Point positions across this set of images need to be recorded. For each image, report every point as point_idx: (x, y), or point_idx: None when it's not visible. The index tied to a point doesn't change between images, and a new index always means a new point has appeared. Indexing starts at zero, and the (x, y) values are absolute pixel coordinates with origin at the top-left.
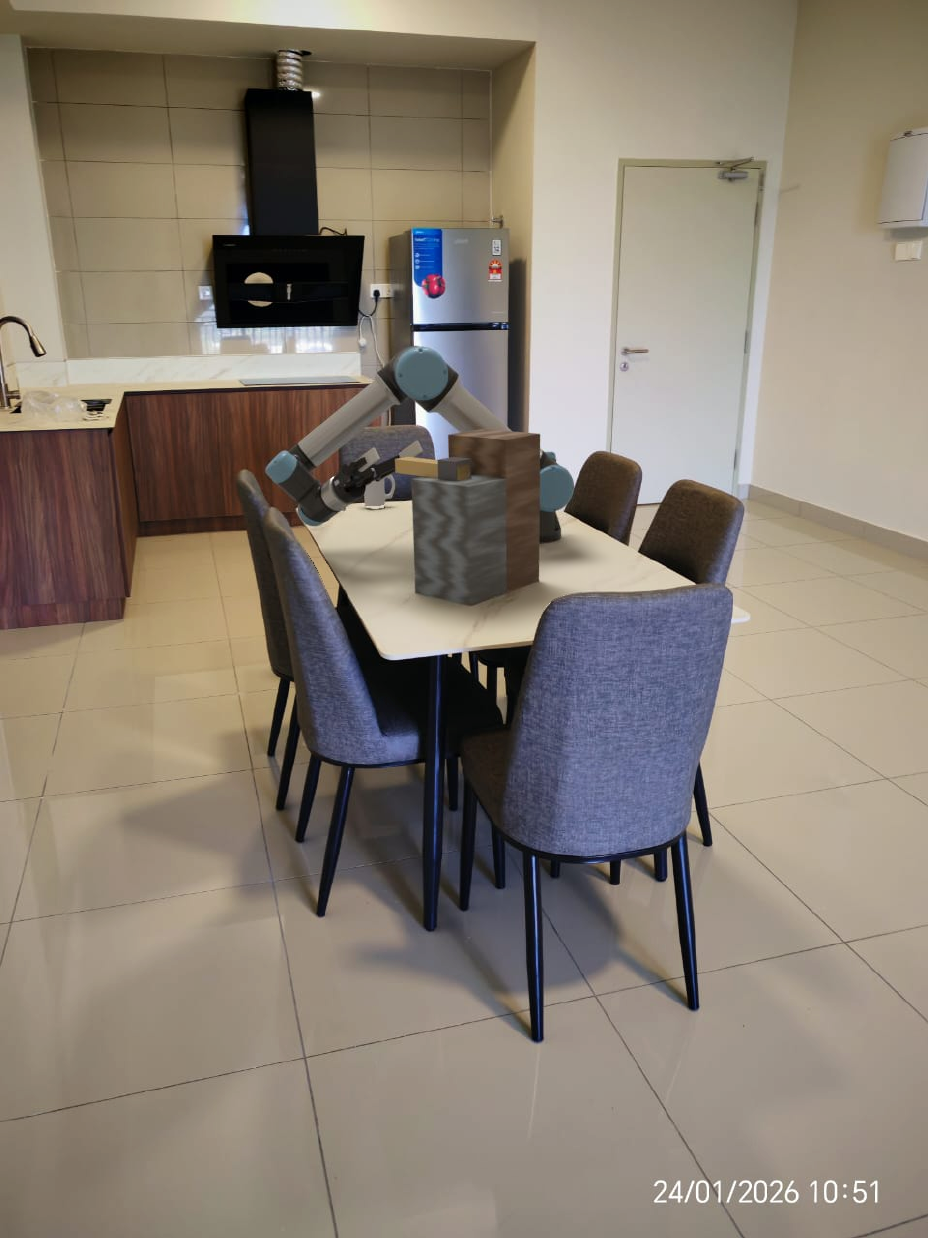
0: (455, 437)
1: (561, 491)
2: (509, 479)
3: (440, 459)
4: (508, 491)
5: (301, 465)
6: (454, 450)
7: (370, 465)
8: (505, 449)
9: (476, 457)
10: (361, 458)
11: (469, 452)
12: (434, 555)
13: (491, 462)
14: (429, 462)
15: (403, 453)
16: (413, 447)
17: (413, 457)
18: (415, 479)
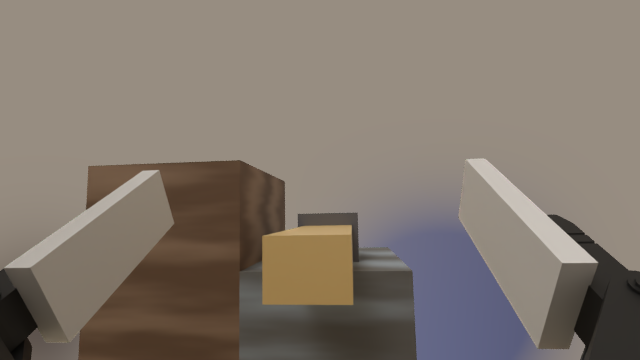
0: (248, 170)
1: None
2: None
3: (350, 213)
4: None
5: None
6: (247, 205)
7: (493, 268)
8: (284, 197)
9: (268, 217)
10: (557, 219)
11: (262, 208)
12: None
13: (277, 224)
14: (343, 226)
15: (78, 257)
16: (146, 206)
17: (273, 233)
18: (407, 268)
